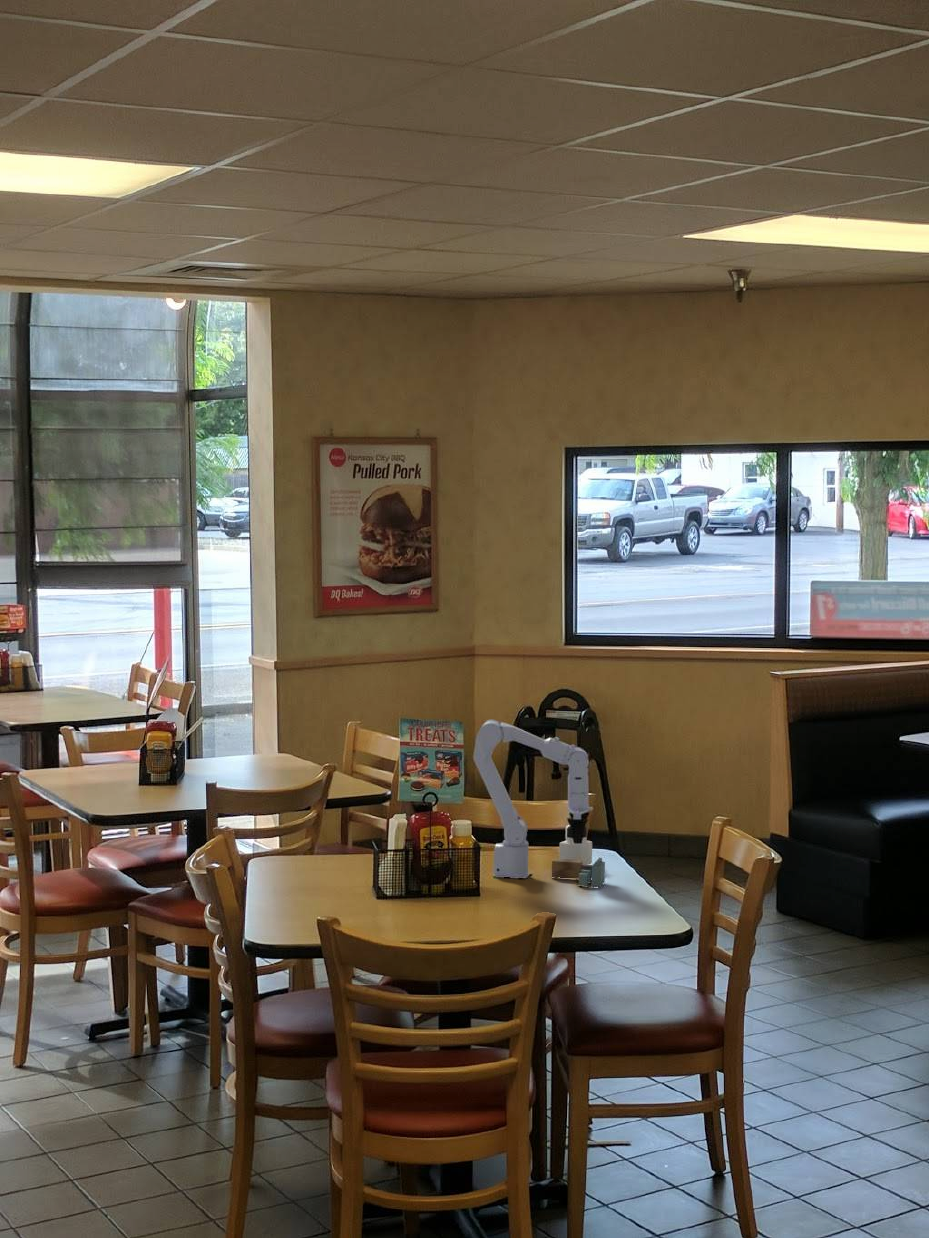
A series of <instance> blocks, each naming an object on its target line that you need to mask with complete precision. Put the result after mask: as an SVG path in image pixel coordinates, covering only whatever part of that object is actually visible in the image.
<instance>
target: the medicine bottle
mask: <svg viewBox="0 0 929 1238" xmlns="http://www.w3.org/2000/svg"><path fill="white" fill-rule="evenodd" d="M587 829H588V828H587V826H586V825H585V830H584V835H583V840H582V844H575V843H574V841H573V836H572V831H571V827H570V825H569V824H567V825H566V826H565V840H564V841H561V842H559V850H558V851H559V854H558V855H559V856H558V857H559V858H558V859H566V860H582V865H588V864H591V863H592V864H593V841H590V840H587V832H588V831H587Z"/></svg>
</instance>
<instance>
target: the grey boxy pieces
mask: <svg viewBox="0 0 929 1238" xmlns="http://www.w3.org/2000/svg"><path fill="white" fill-rule="evenodd" d="M605 874H606V861H603V857H598V859H597V860H595V862H594V863H592V881H591V870H582V871H581V873H579V881H578V885H584V886H587V885H588V886H589V884H588V882H590V881H591V888H592V887H598V888H601V887H602V888H603V886H604V885H603V883H604V882H605V883H606V881H605V880H606V878H605V877H606V875H605ZM602 885H603V886H602ZM602 888H601V889H602Z"/></svg>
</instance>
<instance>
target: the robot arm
mask: <svg viewBox="0 0 929 1238" xmlns="http://www.w3.org/2000/svg"><path fill="white" fill-rule="evenodd" d="M481 725H482V726H481V727H480V728H479V730H478V732H477V735H476V738H475V744H474V750H473V755H472V758H473V761H474V764H475V765H476V767H477V770H478V773H479V774H480V776H481V779H482V780H483V781H482V782H484V786H485V787H486V790H487V792H488V794H489V797H490V798H491V801H492V802H493V805H494V807H495V809H496V811H497V814H498V816H499V818H500V819H499V820H500V822H501V825H502V827H503V830H504V831H503V837H504V840H503V841H502V842H499V843H497V842H496V844H495V846H494V851H493V875H492V877H493V876H495V877H494V878H504V877H510V878H509V879H518V878H527V877H528V876H529V875H530V873H529V874H528V871H529V848H530V847H529V845H530V844H529V841H528V840H527V836H528V833H527V832H528V829H529V827H528V824H527V823H526V821H525V820H524V819H523V818H522V817H521V816H520V815H519V813H518V811H517V810H516V808H515V806H514V804H513V802H512V800H511V797H510V795H509V792H508V791H507V789H506V787H505V785H504V784H505V783H503V782H504V781H503V780H502V778H501V776H500V774H499V771H498V769H497V767H496V765H495V763H494V761H493V758H492V755H493V752H494V751H495V748H496V747H497V746H498V745H499V743H500V742H501V741H502V743H508V742H517V743H519V744H522V745H524V746H528V747H530V748H533V749H535V750H539V751H540V753H541V755H542V757H543V758H547V759H548V760H551V761H554V762H556V763H558V764H560V765H567V766H568V775H567V809H566V810H567V812H569V813H568V815H569V817H566V818H567V819H566V820H567V823H568V825H570V827H571V831H572V836H573V841H574V843H575V844H582V840H583V835H584V830H585V826H586V825H587V822H588V820H589V819H588V817H589V815H590V812H591V811H593V810H594V807H591V806H589V801H590V799H589V774H588V773H589V769H588V766H589V763H590V761H589V756H588V753H587V752H586V751H585V750H584V749H583V748H581V747H579V746H576V745H575V744H573V743H572V744H571V745H570V744H567V743H566V742H563V741H561V740H560V738H559V737H557V736H555V737H550V736H549V737H548V738H546V739H544V738H541V737H540V736H537V735H534V734H532V733H531V732H529V731H525V730H524V729H522V728H519V727H517V726H515V725H512V724H509V723H507V722H502V721H501V722H500V721H498V720H496V719H488V720H485V721H484V722H483V723H482V724H481ZM530 876H531V875H530ZM530 876H529V877H530ZM515 877H517V878H515ZM529 877H528V878H529ZM528 878H527V879H528Z"/></svg>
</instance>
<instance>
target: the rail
mask: <svg viewBox="0 0 929 1238" xmlns="http://www.w3.org/2000/svg"><path fill="white" fill-rule="evenodd" d="M592 866H593V864H592V865H582V860H566V859H559V858H554V859H552V860H551V878H552V877H555V878H558V877H560V878H579V873H581V871H582V870H591V878H592Z"/></svg>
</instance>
